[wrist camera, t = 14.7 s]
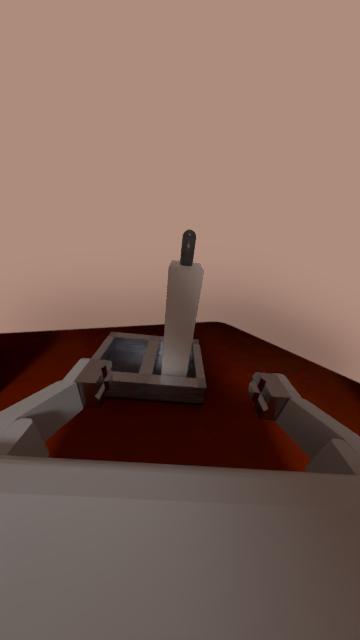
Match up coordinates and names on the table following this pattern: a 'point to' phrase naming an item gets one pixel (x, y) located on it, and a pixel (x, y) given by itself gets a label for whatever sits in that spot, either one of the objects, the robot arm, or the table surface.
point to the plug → (181, 309)
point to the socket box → (150, 370)
